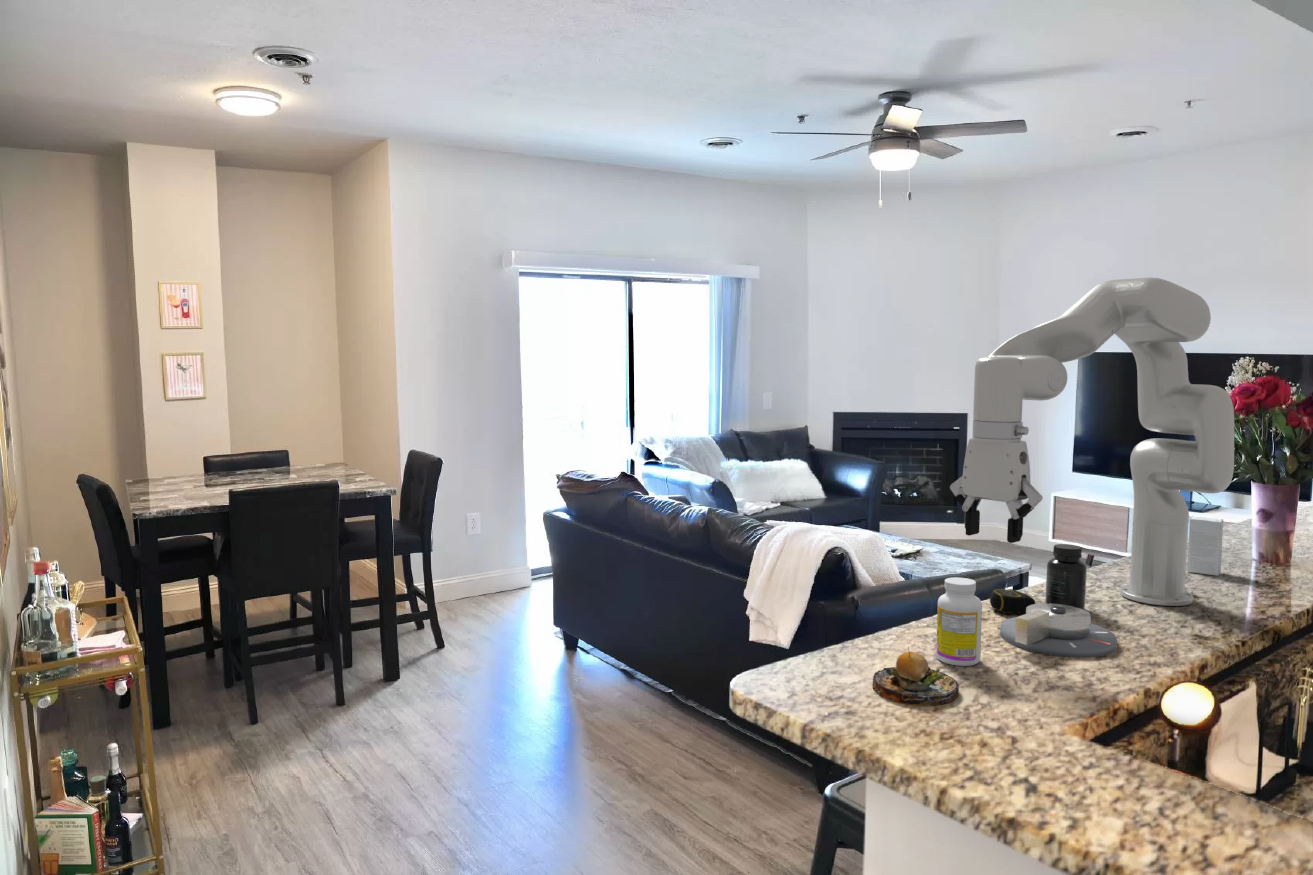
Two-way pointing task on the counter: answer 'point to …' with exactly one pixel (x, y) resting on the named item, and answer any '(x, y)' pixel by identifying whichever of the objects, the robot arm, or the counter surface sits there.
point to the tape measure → (1010, 601)
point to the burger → (915, 682)
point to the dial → (1052, 623)
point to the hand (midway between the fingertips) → (992, 537)
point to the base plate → (1065, 642)
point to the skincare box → (1205, 545)
